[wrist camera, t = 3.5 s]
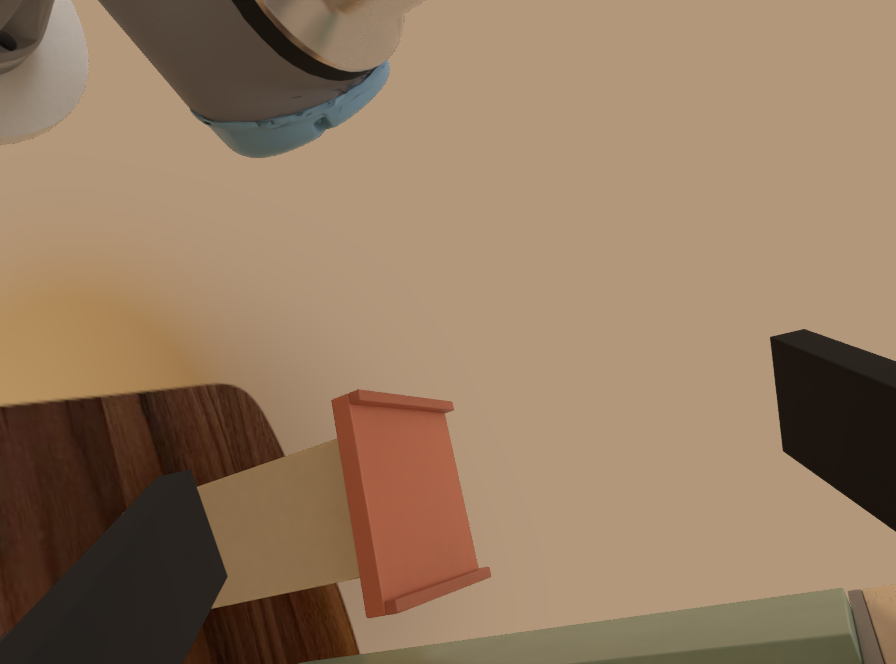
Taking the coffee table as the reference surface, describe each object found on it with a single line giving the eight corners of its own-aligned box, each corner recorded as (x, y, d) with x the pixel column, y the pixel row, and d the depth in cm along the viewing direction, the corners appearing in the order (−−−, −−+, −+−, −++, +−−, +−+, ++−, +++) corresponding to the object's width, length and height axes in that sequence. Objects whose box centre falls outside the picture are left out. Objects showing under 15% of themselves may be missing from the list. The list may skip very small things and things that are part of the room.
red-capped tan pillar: (102, 487, 34) (358, 388, 26) (220, 480, 41) (452, 401, 33) (110, 662, 32) (398, 613, 24) (234, 625, 38) (491, 576, 30)
